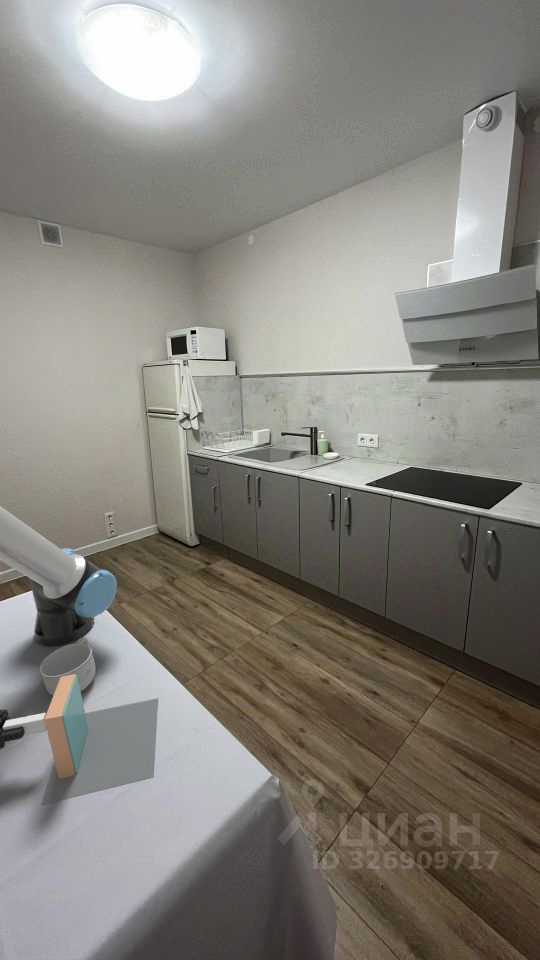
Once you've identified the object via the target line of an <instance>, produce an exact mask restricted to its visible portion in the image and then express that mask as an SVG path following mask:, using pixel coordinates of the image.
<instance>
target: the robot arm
mask: <svg viewBox="0 0 540 960" xmlns="http://www.w3.org/2000/svg"><path fill="white" fill-rule="evenodd" d="M0 561H1V562H2V563H4V564H6V565H7V566H9V567H11V568H12V569H14V570H16V571H17V572H19V573H20V574H22V575H23V576H26V577H27V578H28V579H29V582H30V583H29V584H30V587H31V591H32V596H33V599H34V603H35V609H36V616H35V622H34V623H35V624H34V633H33V634H34V637H35V641H36V642H37V643H38V644H39V645H42V646H47V647H51V646H61V645H65V644H68V643H71V642H74V641H75V640H79V639H80V638H82V637H84V635H86V634H87V633H88V632H89V631H90V630H91V629H92V628H93V627H92V625H93V623H94V624H95V622H94V620H95V617H97V616H98V615H101V614H103V613H104V612H106V611H107V609H109V607H110V606H111V604H112V603H113V601H114V599H115V596H116V594H117V587H118V584H117V579H116V577H115V575H113V573H112V572H110V571H109V570H107V569H101V568H99V567H98V566H96V565H95V564H94V563H92V562H90V561H89V560H88V559H86V558H85V557H84V556H82V555H80V554H77V553H76V552H75V551H74V549H72V548H69V547H68V548H67V547H65V548H60V547H59V546H57V545H56V544H55V543H53V542H51V541H50V540H49V539H47V538H46V537H44V536H43V535H42V534H40V533H39V532H37V531H36V530H35V529H33V528H32V527H30V526H29V525H28V524H26V523H25V522H23V521H22V520H20V519H19V518H17V517H16V516H15V515H14V514H12V513H11V512H10V511H9V510H7V509H6V508H3V506H1V505H0ZM93 626H94V625H93ZM91 627H92V628H91ZM90 628H91V629H90ZM89 629H90V630H89ZM88 630H89V631H88ZM87 631H88V632H87ZM86 632H87V633H86ZM85 633H86V634H85ZM46 714H47V712H42V713H37V714H33V715H27V714H26V715H25V714H24V715H20V716H14V717H10V715H9V712H8V709H0V750H1V749H3V748H4V747H5V746H6V742H11V741H15V740H19V739H22V738H24V737H26V736H30V735H35V734H39V733H40V734H42V733H44V732H47V728H46V724H45V720H44V719H45V717H46Z"/></svg>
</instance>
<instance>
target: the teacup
mask: <svg viewBox="0 0 540 960" xmlns="http://www.w3.org/2000/svg"><path fill="white" fill-rule="evenodd" d="M39 665H40V666H39V673H40V675H41V678H42V680H43V683H44V687H45V688H46V690H47V692H48V693H49V694H50V695H51V696H52V697H53V696H54V693H55V691H56V688H57V685H58V683H59V680H60V678H61V677H62V676H67V675H73V674H76V675H77V677H78V682H79V687H80V691H81V693H82V692H83V691H84V690H85V689H86V688H88V686H89V685H90V684H91V683H92V681H93V680H94V678H95V675H96V663H95V657H94V654H93V649H92V647H91V646H90V644H89V639H88V638H86V637H80V638H78V639H77V642H76V643H70V644H67V645H63V646H62V647H60V648H57V649H55V650H53V651H52V652H51V653H50V654H48V655H47V656H46V657H45V658H44V659H43V660H42V661H41V663H40V664H39Z"/></svg>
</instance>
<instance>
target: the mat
mask: <svg viewBox="0 0 540 960" xmlns="http://www.w3.org/2000/svg"><path fill="white" fill-rule="evenodd" d="M158 707H159V697H158V698H157V697H156V698H153V699H148V700H143V701H142V700H141V701H139V702H133V703H128V704H123V705H119V706H115V707H110V708H105V709H101V710H100V709H99V710H95V711H90V712H85V715H86V720H87V724H88V731H87V735H86V739H85V742H84V746H83V750H82V754H81V758H80V762H79V766H78V770H77V773H75V775H74V776H70V777H65V778H61V779H59V777H58V773H57V769H56V765H55V762H54V763H53V767H52V769H51V773H50V776H49V780H48V782H47V785H46V788H45V792H44V795H43V798H42V801H41V806H42V805H47V804H50V803H55V802H59V801H63V800H67V799H71V798H77V797H80V796H83V795H87V794H92V793H96V792H99V791H103V790H108V789H111V788H116V787H120V786H124V785H128V784H131V783H136V782H140V781H145V780H148V779H153V778H154V777H155V776H154V775H155V761H156V741H157V725H158V710H159V708H158Z"/></svg>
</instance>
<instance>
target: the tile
mask: <svg viewBox="0 0 540 960" xmlns="http://www.w3.org/2000/svg"><path fill="white" fill-rule="evenodd" d="M85 713H86V711H85V707H84V702H83V696H82V692H81V691H80V687H79V682H78V677H77V675H76V674H73V675H67V676H62V677H61V678H60V680H59V683H58V685H57V688H56V691H55V693H54V696H52V698H51V701H50V704H49V707H48V709H47V712H46V717H45V719H44V720H45V724H46V728H47V731H46V732H47V735H48V740H49V744H50V747H51V751H52V756H53V759H54V760H53V761H54V763H55V765H56V769H57V773H58V777H59V779H61V778H65V777H70V776H74V775H75V773H77V770H78V766H79V762H80V758H81V754H82V750H83V746H84V742H85V739H86V735H87V731H88V724H87V720H86V715H85Z"/></svg>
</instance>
